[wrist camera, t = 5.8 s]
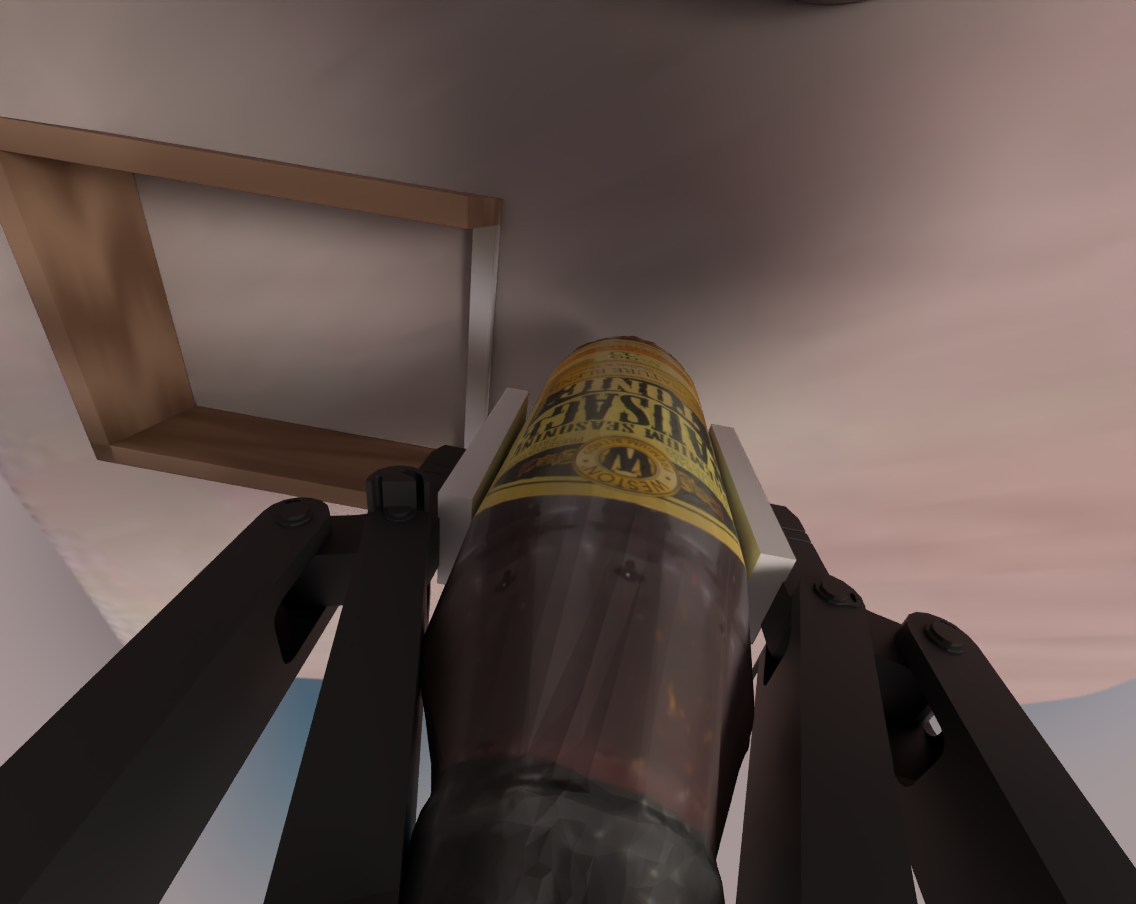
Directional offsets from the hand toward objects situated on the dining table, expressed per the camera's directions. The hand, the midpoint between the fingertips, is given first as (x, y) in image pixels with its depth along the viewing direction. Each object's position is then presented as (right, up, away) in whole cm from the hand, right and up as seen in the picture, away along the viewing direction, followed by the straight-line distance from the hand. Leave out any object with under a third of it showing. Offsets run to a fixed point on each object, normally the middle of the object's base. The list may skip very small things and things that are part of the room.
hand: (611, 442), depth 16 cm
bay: (-14, +6, +7) cm, 17 cm away
